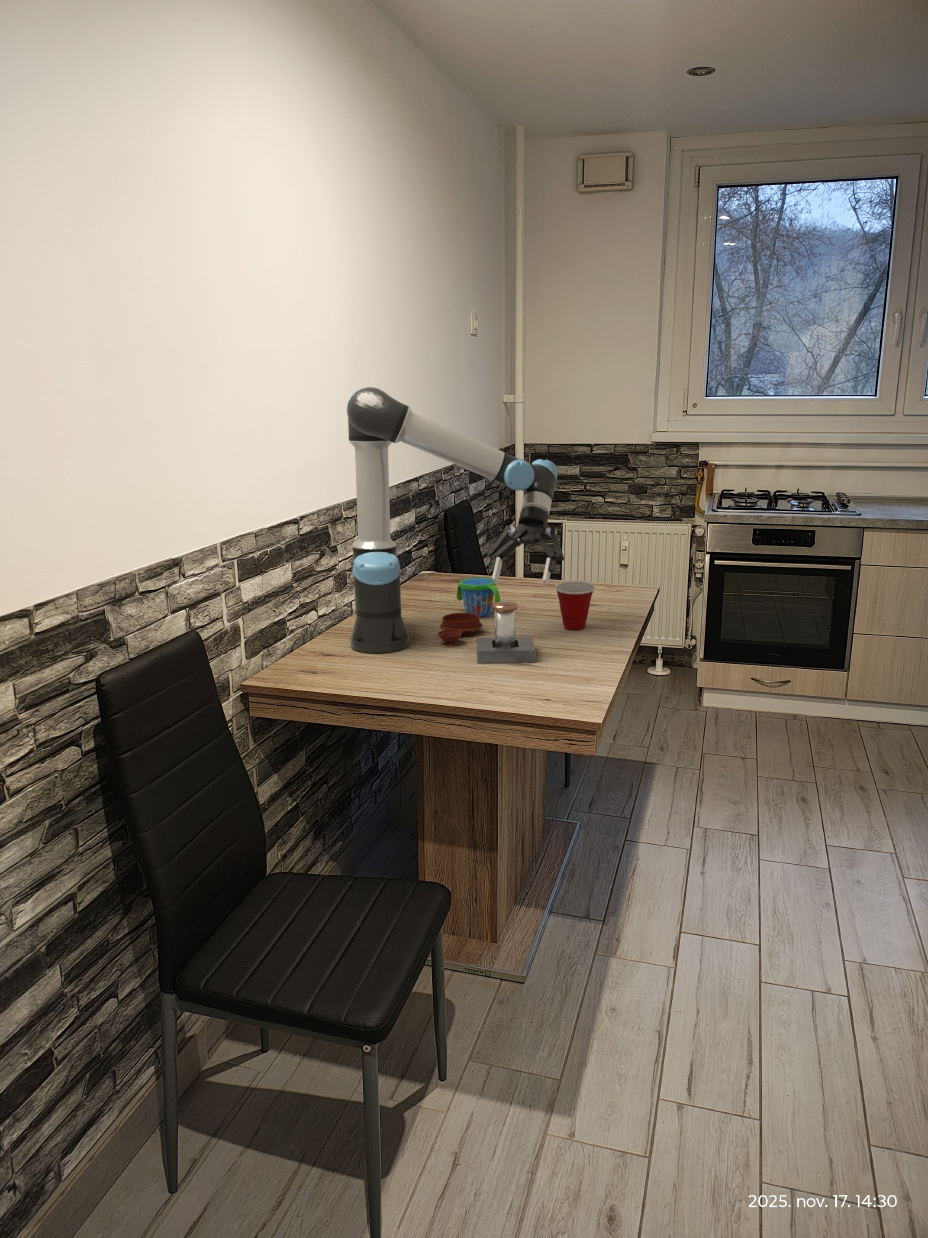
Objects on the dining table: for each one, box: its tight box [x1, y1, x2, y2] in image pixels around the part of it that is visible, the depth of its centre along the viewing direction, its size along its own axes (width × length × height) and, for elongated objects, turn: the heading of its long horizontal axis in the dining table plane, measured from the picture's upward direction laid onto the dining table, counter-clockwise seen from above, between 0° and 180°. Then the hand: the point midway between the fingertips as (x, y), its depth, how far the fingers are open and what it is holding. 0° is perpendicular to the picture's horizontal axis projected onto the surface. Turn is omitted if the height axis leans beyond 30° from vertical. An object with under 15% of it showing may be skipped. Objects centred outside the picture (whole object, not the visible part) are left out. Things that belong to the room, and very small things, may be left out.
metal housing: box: [475, 636, 536, 664], centre depth 220 cm, size 14×12×3 cm
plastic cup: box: [554, 580, 596, 631], centre depth 242 cm, size 11×11×12 cm
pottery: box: [437, 612, 484, 646], centre depth 237 cm, size 12×20×4 cm, turn 165°
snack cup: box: [456, 577, 502, 618], centre depth 258 cm, size 16×10×10 cm
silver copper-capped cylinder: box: [492, 601, 518, 648], centre depth 219 cm, size 6×6×13 cm
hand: (519, 582), depth 226 cm, fingers open, 13 cm apart
